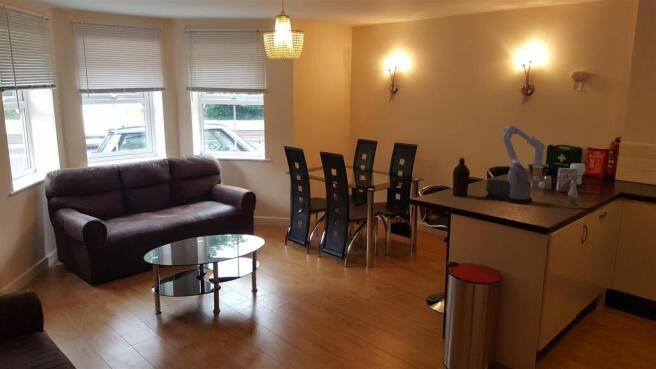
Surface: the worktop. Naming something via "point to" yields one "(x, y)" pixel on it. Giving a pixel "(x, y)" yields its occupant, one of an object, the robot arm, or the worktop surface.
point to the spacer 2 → (547, 178)
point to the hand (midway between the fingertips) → (537, 176)
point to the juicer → (510, 187)
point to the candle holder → (573, 192)
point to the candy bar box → (564, 179)
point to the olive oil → (460, 179)
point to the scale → (541, 184)
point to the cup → (578, 170)
